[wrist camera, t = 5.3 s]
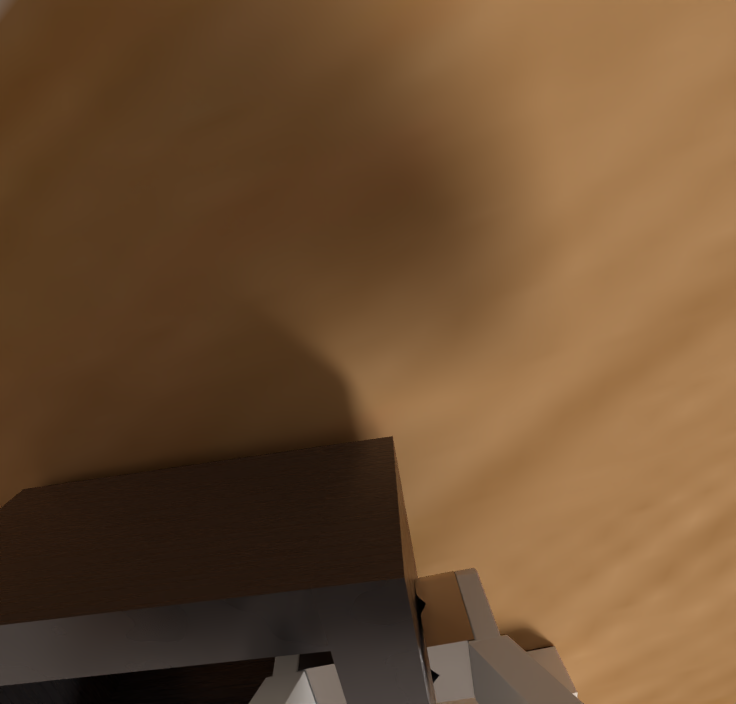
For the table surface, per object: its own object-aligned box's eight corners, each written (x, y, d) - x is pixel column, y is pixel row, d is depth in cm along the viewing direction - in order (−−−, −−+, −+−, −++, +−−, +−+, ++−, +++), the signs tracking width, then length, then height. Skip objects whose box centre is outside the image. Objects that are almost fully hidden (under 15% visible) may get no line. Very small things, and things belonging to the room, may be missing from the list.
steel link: (392, 436, 10) (405, 577, 6) (426, 626, 12) (449, 810, 9) (23, 489, 11) (-165, 645, 7) (123, 659, 13) (25, 842, 9)
